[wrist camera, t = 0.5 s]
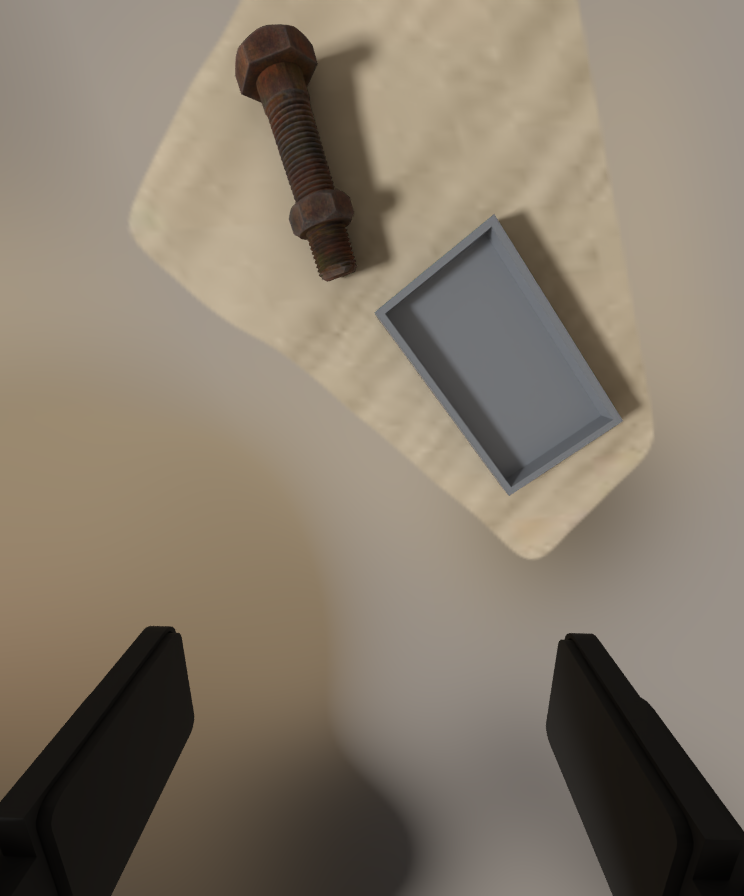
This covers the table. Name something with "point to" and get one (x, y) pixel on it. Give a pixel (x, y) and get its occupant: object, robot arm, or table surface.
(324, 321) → the table surface
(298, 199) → the bolt
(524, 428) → the parts tray
